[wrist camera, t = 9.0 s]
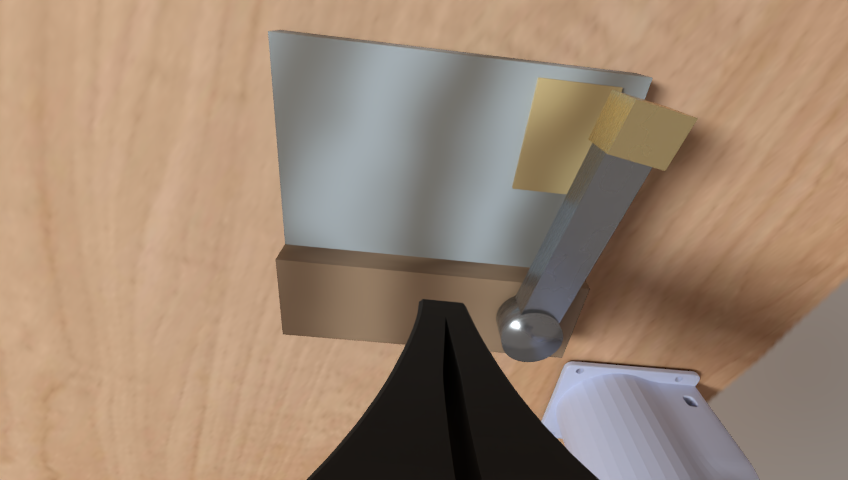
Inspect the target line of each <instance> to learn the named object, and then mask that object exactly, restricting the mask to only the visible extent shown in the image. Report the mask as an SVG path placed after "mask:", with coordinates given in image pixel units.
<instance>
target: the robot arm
mask: <svg viewBox="0 0 848 480" xmlns="http://www.w3.org/2000/svg"><path fill="white" fill-rule="evenodd" d="M579 368H580V369H579ZM699 380H700V377H699V375H698V374H697V373H696V372H693V371H682V370H670V369H658V368H647V367H635V366H623V365H611V364H599V363H587V362H575V361H570V362H567V363H566V364H565V365H564V367H563V370H562V372H561V375H560V377H559V379H558V382H557V384H556V387H555V389H554V392H553V394H552V397H551V399H550V401H549V404H548V406H547V409H546V411H545V414H544V416H543V419H542V421H540V420H539V418H538V417H537V416H536V415H535V414H534V413H533V411H532V410H531V409H530V408H529V407H528V405H527V404H526V403H525V402H524V400H523V399H522V398H521V397H520V395H519V394H518V393H517V391H516V390H515V389H514V387H513V386H512V385H511V383H510V382H509V380H508V379H507V377H506V376H505V375H504V373H503V372H502V370H501V369H500V367H499V366H498V364H497V362H496V361H495V359H494V358H493V356H492V354H491V353H490V351H489V349H488V348H487V346H486V344H485V343H484V341H483V339H482V337H481V336H480V334H479V332H478V330H477V328H476V326H475V324H474V322H473V320H472V318H471V316H470V314H469V312H468V310H467V308H466V306H465V305H464V303H460V302H449V301H439V300H428V299H422V300H421V301H419V305H418V312H417V317H416V320H415V323H414V326H413V329H412V331H411V334H410V336H409V338H408V341H407V343H406V345H405V347H404V350H403V352H402V353H401V355H400V357H399V359H398V361H397V363H396V365H395V367H394V369H393V370H392V372H391V374H390V376H389V377H388V379H387V381H386V382H385V384H384V385H383V387H382V388H381V390H380V392H379V393H378V395H377V396H376V398H375V399H374V400H373V402H372V403H371V405H370V406H369V407H368V409H367V410H366V412H365V413H364V414H363V416H362V417H361V418H360V420H359V421H358V422H357V424H356V425H355V426H354V427H353V429H352V430H351V431H350V432H349V433H348V434H347V436H346V437H345V438H344V439H343V440H342V442H341V443H340V444H339V445H338V446H337V448H336V449H335V450H334V451H333V452H332V453H331V454H330V456H329V457H328V458H327V459H326V460H325V461H324V462H323V463H322V464H321V465H320V466H319V467H318V468H317V469H316V470H315V471H314V472H313V473H312V474H311V476H310V477H309V478H308V479H307V480H760V479H759V477H758V475H757V473H756V471H755V469H754V468H753V466H752V465H751V463H750V462H749V460H748V459H747V457H746V456H745V455H744V453H743V452H742V451H741V449H740V448H739V447H738V445H737V444H736V442H735V441H734V439H733V438H732V437H731V436H730V434H729V433H728V431H727V430H726V428H725V427H724V426H723V424H722V423H721V422H720V420H719V419H718V417H717V416H716V415H715V413H714V412H713V411H712V409H711V408H710V406H709V405H708V403H707V402H706V401H705V399H704V398H703V397H702V395H701V394H700V392H699V391H698V390H697V388H696V387H695V386H696V385H697V383H698V382H699ZM557 438H562V439H563V441H564V444H565V446H564V445H563V444H562V443H561V442H560V441H559V440H558V439H557Z"/></svg>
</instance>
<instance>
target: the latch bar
mask: <svg viewBox="0 0 848 480" xmlns="http://www.w3.org/2000/svg"><path fill="white" fill-rule="evenodd" d="M696 120H697V118H695V117H692V116H690V115H687V114H684V113H682V112H679V111H676V110H674V109H671V108H669V107H666V106H662V105H659V104H656V103H653V102H650V101H647V100H644V99H640V98H637V97H634V96H631V95H628V94H625V93H622V92H618V91H615V90H612V91H611V93H610V95H609V97H608V99H607V102H606V104H605V106H604V108H603V110H602V112H601V114H600V116H599V118H598V120H597V122H596V124H595V126H594V128H593V130H592V132H591V134H590V136H589V138H588V140H590V141H591V142H592V145H591V147H590V149H589V151H588V153H587V155H586V157H585V159H584V161H583V163H582V165H581V167H580V169H579V171H578V173H577V175H576V177H575V179H574V181H573V183H572V185H571V187H570V189H569V191H568V193H567V195H566V197H565V199H564V201H563V203H562V205H561V207H560V209H559V211H558V213H557V215H556V217H555V219H554V221H553V223H552V225H551V227H550V229H549V231H548V233H547V235H546V237H545V239H544V241H543V243H542V245H541V247H540V249H539V251H538V253H537V255H536V257H535V259H534V261H533V263H532V265H531V267H530V269H529V271H528V273H527V275H526V277H525V279H524V281H523V283H522V285H521V287H520V289H519V291H518V293H517V295H516V296H513V297H511V298H509V299H508V300H506V301H505V302H504V303H503V304H502V305H501V306H500V307H499V309H498V311H497V314H496V322H497V326H498V330H499V335H500V339H501V344H502V347H503V350H504V352H505V353H506V354H507V355H508V356H509V357H511V358H513V359H515V360H518V361H522V362H535V361H540V360H543V359H545V358H547V357H549V356H551V355H552V354H554V353H555V352H556V351H557V350H558V349H559V347H560V346H561V344H562V341H563V332H562V329H561V327H560V325H559V323H560V321H561V320H562V318H563V316H564V315H565V313H566V311H567V310H568V308H569V306H570V305H571V303H572V301H573V300H574V298H575V296H576V295H577V293H578V291H579V290H580V288H581V286H582V285H583V283H584V281H585V280H586V278H587V276H588V275H589V273H590V271H591V269H592V268H593V266H594V264H595V263H596V261H597V259H598V258H599V256H600V254H601V253H602V251H603V249H604V248H605V246H606V244H607V243H608V241H609V239H610V238H611V236H612V234H613V233H614V231H615V229H616V228H617V226H618V224H619V223H620V221H621V219H622V218H623V216H624V214H625V213H626V211H627V209H628V208H629V206H630V204H631V203H632V201H633V199H634V198H635V196H636V194H637V193H638V191H639V189H640V187H641V186H642V184H643V182H644V181H645V179H646V177H647V176H648V174H649V172H650V171H651V169H652V167H653V168H656V169H660V170H663V171H666V169H667V167H668V166H669V164H670V163H671V161H672V159H673V158H674V156H675V154H676V153H677V151H678V150H679V148H680V146H681V145H682V143H683V142H684V140H685V138H686V137H687V135H688V133H689V132H690V130H691V129H692V127H693V125H694V124H695V122H696Z"/></svg>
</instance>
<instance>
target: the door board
mask: <svg viewBox="0 0 848 480" xmlns="http://www.w3.org/2000/svg"><path fill="white" fill-rule="evenodd" d="M268 36H269V49H270V61H271V74H272V86H273V98H274V111H275V123H276V136H277V148H278V161H279V173H280V185H281V198H282V210H283V223H284V235H285V245H284V247H283V249H282V250H281V252H280V253H279V255H278V257H277V258H276V268H277V278H278V289H279V299H280V309H281V320H282V330H283V334H286V335H298V336H310V337H322V338H333V339H345V340H357V341H369V342H381V343H393V344H405V345H406V343H407V341H408V338H409V336H410V334H411V331H412V329H413V326H414V323H415V320H416V317H417V312H418V305H419V301H421V300H422V299H428V300H439V301H449V302H460V303H464V305H465V306H466V308H467V310H468V312H469V314H470V316H471V318H472V320H473V322H474V324H475V326H476V328H477V330H478V332H479V334H480V336H481V337H482V339H483V341H484V343H485V344H486V346H487V348H488V349H489V351H490V352H500V353H505V352H504V350H503V347H502V344H501V339H500V335H499V330H498V326H497V322H496V314H497V311H498V309H499V307H500V306H501V305H502V304H503V303H504V302H505V301H506V300H508V299H509V298H511V297H513V296H516V295H517V293H518V291H519V289H520V287H521V285H522V283H523V281H524V279H525V277H526V275H527V273H528V271H529V269H530V267H531V265H532V263H533V261H534V259H535V257H536V255H537V253H538V251H539V249H540V247H541V245H542V243H543V241H544V239H545V237H546V235H547V233H548V231H549V229H550V227H551V225H552V223H553V221H554V219H555V217H556V215H557V213H558V211H559V209H560V207H561V205H562V203H563V201H564V199H565V197H566V195H567V193H568V191H569V189H570V187H571V185H572V183H573V181H574V179H575V177H576V175H577V173H578V171H579V169H580V167H581V165H582V163H583V161H584V159H585V157H586V155H587V153H588V151H589V149H590V147H591V145H592V142H591V141H590V140H588V138H589V136H590V134H591V132H592V130H593V128H594V126H595V124H596V122H597V120H598V118H599V116H600V114H601V112H602V110H603V108H604V106H605V104H606V102H607V99H608V97H609V95H610V93H611V91H612V90H615V91H618V92H622V93H625V94H628V95H631V96H634V97H637V98H640V99H644V100H645V97H646V94H647V92H648V89H649V86H650V84H651V81H652V78H651V77H648V76H644V75H641V74H637V73H630V72H621V71H613V70H605V69H597V68H589V67H580V66H572V65H564V64H556V63H548V62H539V61H531V60H523V59H515V58H506V57H498V56H490V55H482V54H474V53H465V52H457V51H449V50H441V49H432V48H424V47H416V46H408V45H400V44H391V43H383V42H375V41H367V40H359V39H350V38H342V37H334V36H326V35H317V34H309V33H301V32H293V31H285V30H275V31H268ZM589 290H590V288H589V287H588V285H587V283H586V282H585V281H584V283H583V285H582V286H581V288H580V290H579V291H578V293H577V295H576V296H575V298H574V300H573V301H572V303H571V305H570V306H569V308H568V310H567V311H566V313H565V315H564V316H563V318H562V320H561V321H560V323H559V325H560V327H561V329H562V332H563V341H562V344H561V346H560V347H559V349H558V350H557V351H556V352H555V353H554V354H552V355H551V356H549V357H559V358H562V357H563V354H564V352H565V349H566V347H567V344H568V342H569V339H570V337H571V334H572V332H573V329H574V327H575V324H576V322H577V319H578V317H579V315H580V312H581V310H582V307H583V305H584V302H585V300H586V297H587V295H588V292H589Z"/></svg>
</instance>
